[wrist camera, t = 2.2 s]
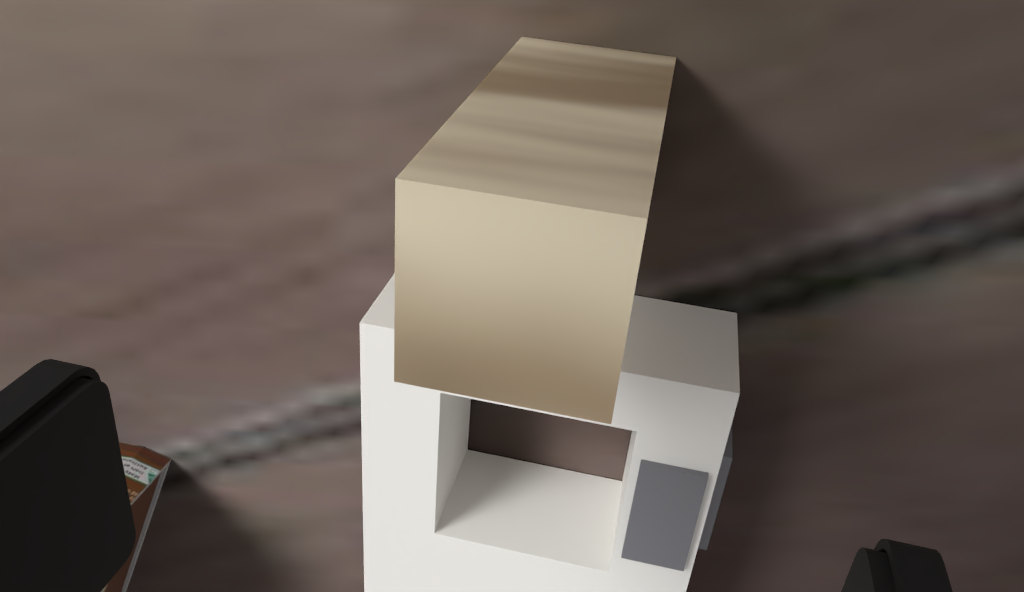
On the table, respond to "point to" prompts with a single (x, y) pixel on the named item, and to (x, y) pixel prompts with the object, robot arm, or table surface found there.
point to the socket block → (550, 472)
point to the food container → (139, 501)
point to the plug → (531, 229)
